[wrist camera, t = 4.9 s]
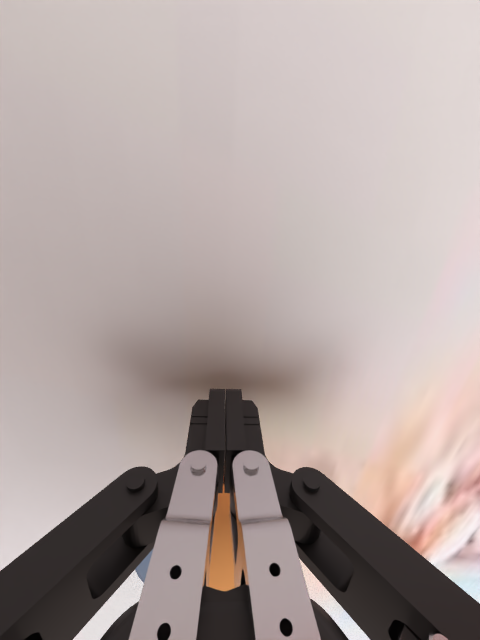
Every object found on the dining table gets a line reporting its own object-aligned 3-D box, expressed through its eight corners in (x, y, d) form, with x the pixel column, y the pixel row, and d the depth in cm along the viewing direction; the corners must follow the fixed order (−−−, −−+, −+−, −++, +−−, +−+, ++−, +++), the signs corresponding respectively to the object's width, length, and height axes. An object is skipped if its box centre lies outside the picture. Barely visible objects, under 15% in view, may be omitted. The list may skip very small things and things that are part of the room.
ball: (135, 611, 14) (159, 484, 18) (222, 606, 17) (226, 496, 20) (201, 625, 11) (213, 467, 15) (295, 616, 14) (285, 484, 17)
